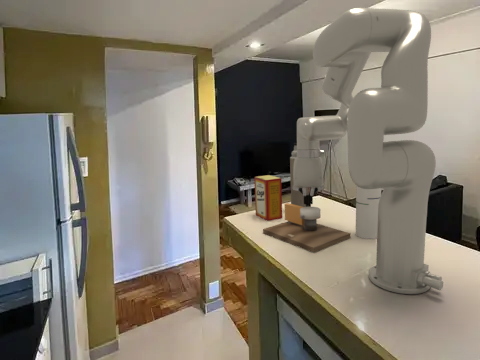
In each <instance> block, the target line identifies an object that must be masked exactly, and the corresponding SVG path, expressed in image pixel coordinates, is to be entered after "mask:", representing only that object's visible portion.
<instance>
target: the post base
mask: <svg viewBox="0 0 480 360" xmlns="http://www.w3.org/2000/svg"><path fill="white" fill-rule="evenodd" d="M317 222H318V219H314V220H308V219H304V225H300V224H297V223H293V222H290V221H285V222H281V223H278V224H275V225H271V226H269V227H265V228H262V234H264V235H267V236H270V237H272V238H275V239H277V240H280V241H283V242H284V243H287V244H290V245H292V246H296V247H297V248H298V247H299V248H301V249H303V250H306V251H309V252H311V253H317V252H320V251H322V250H325V249H327V248H329V247H332V246H334V245H337V244H339V243H341V242H345V241H347V240H349V239H351V232H348V231H344V230H340V229H338V228H337V229H336V228H333V227H331V226H326V225H323V224H320V223H317Z"/></svg>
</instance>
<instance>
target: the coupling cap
mask: <svg viewBox="0 0 480 360" xmlns="http://www.w3.org/2000/svg"><path fill="white" fill-rule="evenodd" d="M320 218H321V208H320V207H317V206H311V207H302V206H298V205H293V204H291V203H289V202H287V203H284V220H285V221H286V222H288V221H290V222H293V223H297V224H300V225H304V219H308V220H314V219H317V220H318V219H320Z"/></svg>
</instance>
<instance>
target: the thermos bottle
mask: <svg viewBox="0 0 480 360" xmlns="http://www.w3.org/2000/svg"><path fill="white" fill-rule="evenodd" d="M295 158H297V142H293V150H292V151H291V156H290V157H289V163H290V164H289V165H290V166H289V167H290V169H289V170H290V171H289V172H290V173H289V175H290V178H289V179H290V204H293V205H298V206H302V207H306V204H304V195H303V194H302V193H301V192H300V191H296V190H293V184H294V183H293V168H294V160H295ZM301 188H302V187H301ZM306 192H307V195H309V192H310V187H306ZM308 207H309V206H308Z"/></svg>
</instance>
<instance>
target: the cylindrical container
mask: <svg viewBox="0 0 480 360" xmlns="http://www.w3.org/2000/svg"><path fill="white" fill-rule="evenodd" d="M355 186H356V187H355V188H356V191H355V193H356V195H355V196H356V197H355V236H356V237H358V238H361V239H367V240H375V239H376V240H377V227H378V204H379V200H380V197H381V194H382V188H378V189H362V188H360V187H358V186H357V185H355Z"/></svg>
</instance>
